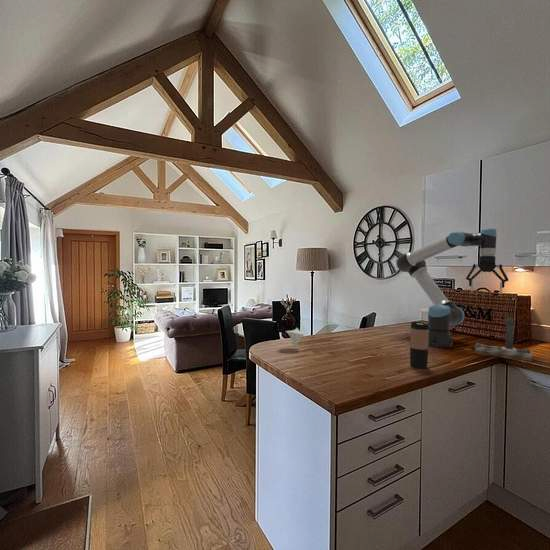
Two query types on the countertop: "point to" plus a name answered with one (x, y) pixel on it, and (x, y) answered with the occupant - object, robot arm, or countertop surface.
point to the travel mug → (419, 344)
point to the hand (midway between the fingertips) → (485, 292)
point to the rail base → (503, 352)
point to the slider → (509, 335)
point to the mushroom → (295, 336)
